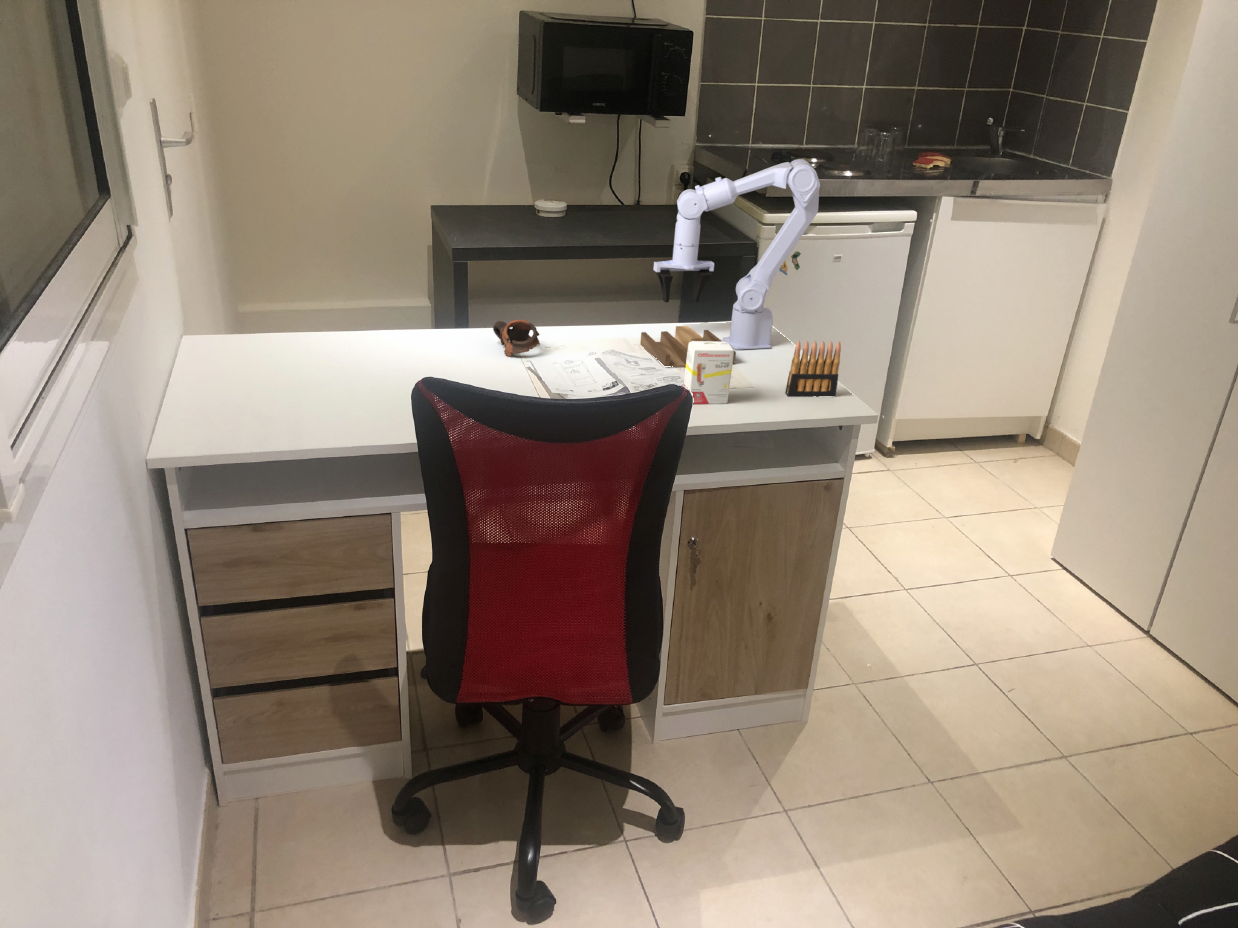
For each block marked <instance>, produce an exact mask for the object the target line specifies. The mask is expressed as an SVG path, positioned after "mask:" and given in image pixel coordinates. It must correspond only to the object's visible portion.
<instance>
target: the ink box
mask: <svg viewBox="0 0 1238 928" xmlns="http://www.w3.org/2000/svg"><path fill="white" fill-rule="evenodd" d="M734 351H735V349H734V348H733V347H732V346H730V344H729V343H728V342H725V341H723V342H717V341H715V342H714V341H691V342H689V344H688V352H687V359H686V367H684V369H685V370H684V377H683V385H684V386H686V387H688V389H690V390H691V392H692V393H693V397H694V404H693V405H721V404H723V405H726V404H728V401H729V393H730V385H731V379H732V372H733V371H732V369H733V365H734V364H733V356H734ZM732 364H733V365H732Z"/></svg>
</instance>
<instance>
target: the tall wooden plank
mask: <svg viewBox="0 0 1238 928" xmlns="http://www.w3.org/2000/svg"><path fill="white" fill-rule="evenodd" d="M674 338H675V339H677V340H678V341H679V342H680V343H681V344H682V345H683V346H685V347H686V348H687V349H688V344H689V342H691V341H703V336H702V335H700V334H699V333H697V332H696V331H695V330H694V329H692V327H690V326H689V325H679V326H678V325H677V326H675V333H674Z"/></svg>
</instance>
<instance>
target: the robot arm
mask: <svg viewBox="0 0 1238 928" xmlns="http://www.w3.org/2000/svg"><path fill="white" fill-rule="evenodd" d="M714 180H715V181H713V182H710V183H706V184H704V185H702V186H700V185H699V184H698V185H695V187H694V188H695V189H691V188H688V189H686V190H683V191H682V192H681V193H680V194H679V196H678V199H677V200H676V204H677V215H676V222H675V228H674V240H673V248H672V259H670V260H665V261H664V260H662V261H653V269H652V270H653V271H654V272H655V274H656V277H657V278H658V281H659V284H660V289H661V294H662V301H663V302H665V303H670V294H671V285H672V282H673V280H674V279H673V278H674V276H673V275H672V273H671V272H691V271H693V289H692V301H694V302H695V303H698V302H699V300H700V297H701V295H702V292H703V290H704V288H705V286H706V284H707V283H708V281H709V280H710V279H711V276H712V273H711V272H714V270H715V262H714V261H712V260H698V255H699V254H698V253H699V246H700V245H699V244H700V234H701V216H702V214H703V213H704V212H709V211H714V210H716V209H719V208H723V207H725V206H728V205H731V204H734V202H735V200H736V199H737V197H738V196H740V195H743V194H747V193H750V192H753V191H758V190H760V189H763V188H768V187H771V186H773V187H777V188H781V189H785V190H786V189H787V185H788V187H789V189H790V190H791V194H792V199H793V202H794V203H793V204H794V208H793V210H792V211H791V213H790V214H789V216H788V217H787V219H786V220H785V222H784V223H783V225H782V226H781V228H780V229H779V231H778V232H777V234H776V235H775V237H774V238H773V240H772V241H771V243H770V244H769V246H768V247H767V249H766V250H765V252H764V253H763V255H761V258H759V261H757V262H758V263H757V264H756V265H754V266H753V268H751V269H750V271H749V272H748V273H747V275H745V276H744V277H742V278H740V279H739V281H738V282H737V283H736V284H735V285H736V286H735V293H736V296H737V300H736V301H735V302H734V303H733V306H732V312H731V314H732V315H731V322H730V327H729V329H730V330H729V336H724V337H722V339H721V340H722V341H723V342H728V343H729V344H730V346H731V347H732V348H733V349H734V350H753V349H757V350H759V349H771V348H772V346H771V338H772V330H773V326H774V325H773V323H774V318H773V313H772V310H771V309H770V308H768V307H764V304H765V302H766V297H767V293H768V292H769V290H770V288H771V285H772V283H773V279H774V278H775V276H776V275H777V273H778V272H779V270H780V269H781V268H782V266H783V264H784V263H785V261H786V260H787V259H788V257H789V255H790V254H791V252H792V251H793V250H794V248H795V247H796V245H797V243H798V242H799V241H800V240H801V238H802V236H803V235H804V233H805V232H806V231H807V229H808V228H809V226H810V224H811V223H812V222H813V220H814V219H815V217H816V216H817V214H818V212H819V201H820V199H819V198H820V188H821V182H820V179H819V177H818V173H817V171H816V170H815V168H814V167H812V165H811V164H810V162H808V160H807V161H806V160H805V159H801V158H800V159H799V158H798V159H794V160H792V161H791V162H789V161H787V162H782V163H779V164H776V165H772V166H770V167H767V168H764V169H762V170H760V171H757V172H755V173H751V174H749V175H747V176H744V177H742V178H739V179H736V180H731V179H730V178H728V177H725V178H722V177H721V176H719V177H715V179H714Z"/></svg>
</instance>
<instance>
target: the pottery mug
mask: <svg viewBox="0 0 1238 928" xmlns="http://www.w3.org/2000/svg"><path fill="white" fill-rule="evenodd" d="M492 327H493V328H492V330H493V333H494V334H495V336H496V337H497V338H498V339H499V340H500V344H501V345H502V346H504V345H505V347H504V350H503V353H504V355H505V356H507V357H509V358H510V357H511V356H512V355H517V354H522V353H527V352H529V351H530V350H533V349H534V348H535V347H536V346H537V345H538V346H539V345H541V343H540V340H539V338H538V337H539V336H540V335H541V334H540V333H539V332H538V330H537V327H536V326H535V324H533V323H532V322H530V321H528V320H524V319H515V320H511V321H509V322H508V323H506V322H505V321H503V320H497V321H495V322H494V324H493V326H492ZM531 331H532V336H531V335H530V332H531Z"/></svg>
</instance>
